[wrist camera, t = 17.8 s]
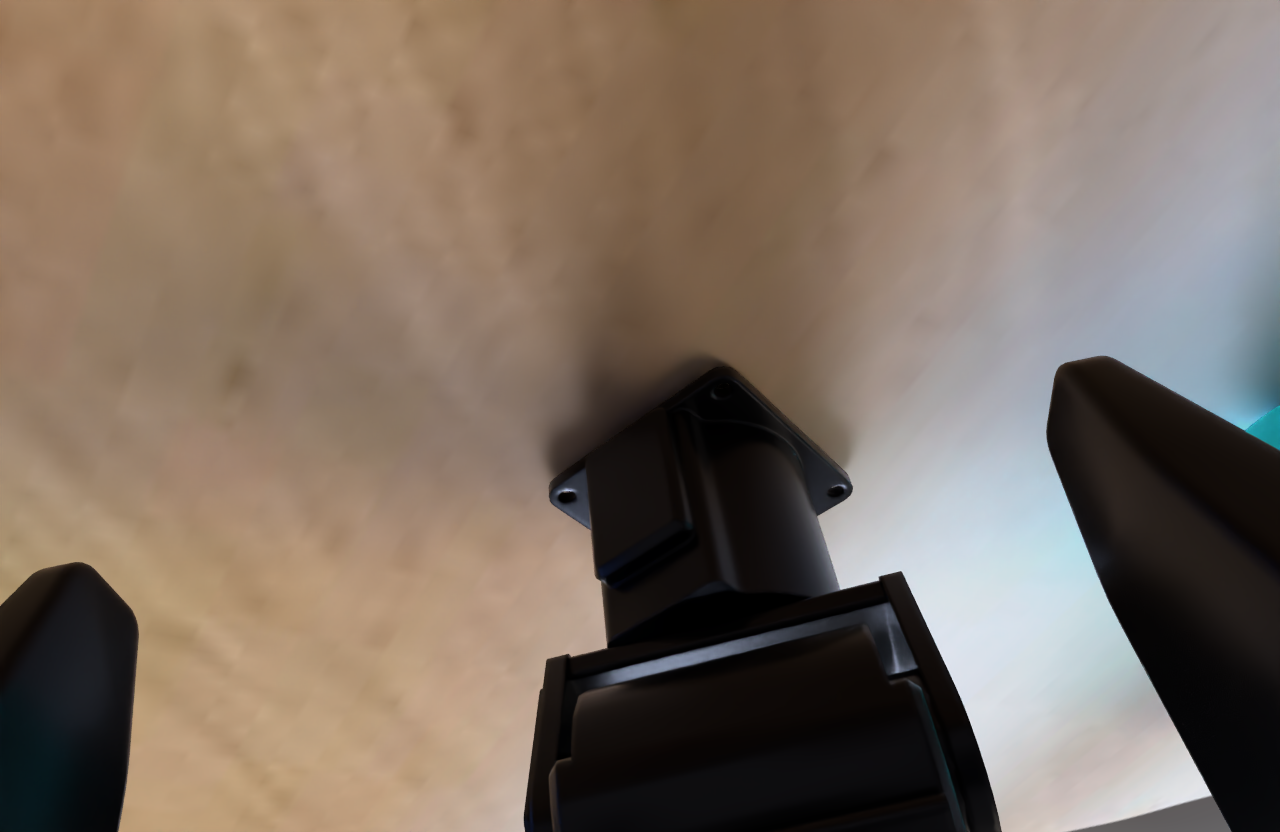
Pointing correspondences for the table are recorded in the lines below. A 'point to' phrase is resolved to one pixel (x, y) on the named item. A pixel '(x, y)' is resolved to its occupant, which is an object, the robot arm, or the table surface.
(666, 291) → the table surface
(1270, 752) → the robot arm
